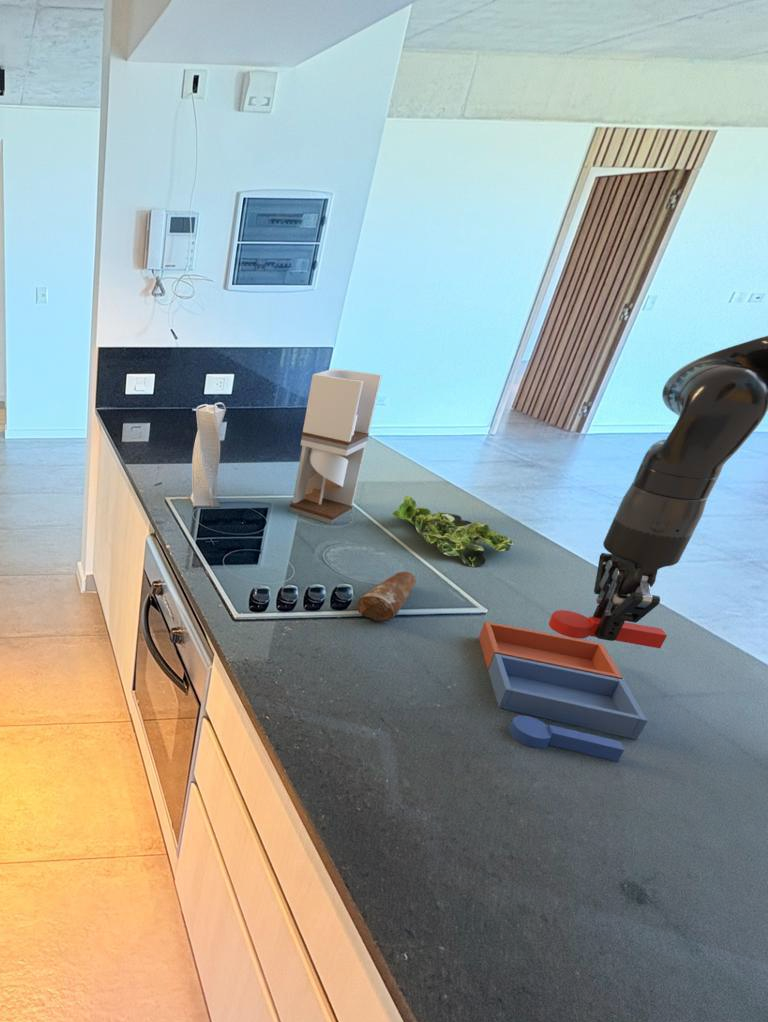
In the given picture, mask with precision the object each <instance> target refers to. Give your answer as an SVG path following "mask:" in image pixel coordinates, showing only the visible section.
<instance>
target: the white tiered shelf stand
mask: <svg viewBox="0 0 768 1022" xmlns="http://www.w3.org/2000/svg"><path fill="white" fill-rule="evenodd" d="M382 377H383V375H382V374H379V373H378V374H377V373H373V372H364V371H357V370H349V369H343V368H334V367H333V368H331V369H327V370H323V371H320V372H317V373H314V374H312V376H311V382H310V388H309V394H308V400H307V405H306V413H305V417H304V422H303V428H302V434H301V439H300V446H301V452H300V458H299V463H298V469H297V474H296V480H295V485H294V492H293V496H292V502H291V503H289V509H288V512H291V513H293V514H296V515H301V516H304V517H307V518H310V519H313V520H317V521H319V522H323V523H325V524H329V525H333V524H335V523H336V522H338V521H339V520H341V519H343V518H344V517H346V516H348V515H350V514H351V513H352V511H353V505H354V502H355V497H356V492H357V487H358V484H359V478H360V475H361V470H362V465H363V462H364V461H363V460H364V457H365V452H366V449H367V443H368V439H369V436H370V430H371V427H372V426H371V425H372V421H373V417H374V413H375V409H376V408H375V407H376V403H377V400H378V394H379V390H380V385H381V381H382Z"/></svg>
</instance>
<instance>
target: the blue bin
mask: <svg viewBox="0 0 768 1022" xmlns="http://www.w3.org/2000/svg"><path fill="white" fill-rule="evenodd" d="M487 672H488V675H489V679H490V682H491V686H492V689H493V693H494V696H495V700H496V704H497V703H498V704H497V707H498V708H499V709H502V708H503V709H504V710H507V711H511V712H516V713H520V714H525V715H527V716H532V717H537V718H542V719H546V720H550V721H554V722H559V723H564V724H568V725H572V726H577V727H581V728H585V729H589V730H593V731H594V730H595V731H598V732H601V733H605V734H606V733H607V734H610V735H614V736H619V737H622V738H623V737H624V738H628V739H632V740H638V739H639V738H640V736H641V734H642V732H643V730H644V728H645V726H646V725H647V723H648V721H649V720H648V719H647V717H646V715H645V713H644V712H643V710H642V708H641V706H640V705H639V703H638V701H637V699H636V698H635V696H634V694H633V693H632V692H631V689H630V688H629V686H628V684H627V683H626V681H625V679H624V678H623V679H617V678H613V677H608V676H603V675H598V674H593V673H588V672H583V671H578V670H574V669H569V668H564V667H559V666H554V665H549V664H544V663H539V662H534V661H530V660H525V659H520V658H515V657H510V656H505V655H500V654H496V653H495V654H494V657H493V659H492V662H491V664H490V667H489V669H487Z"/></svg>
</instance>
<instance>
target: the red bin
mask: <svg viewBox="0 0 768 1022" xmlns="http://www.w3.org/2000/svg"><path fill="white" fill-rule="evenodd" d="M478 640H479V644H480V647H481V651H482V654H484V655H483V658H484V661H485V666H486V669H487V670H489V667H490V664H491V662H492V659H493V657H494V654H495V653H496V654H500V655H505V656H510V657H515V658H520V659H525V660H530V661H534V662H539V663H544V664H549V665H554V666H559V667H564V668H569V669H574V670H578V671H583V672H588V673H593V674H598V675H603V676H608V677H613V678H617V679H623V680H624V677H623V676H622V673H621V672H620V671H619V669H618V667H617V665H616V664H615V662H614V660H613V658H612V657H611V655H610V654H609V653H610V652H609V651H608V650H607V648H606V647H605V645H604V643H602V642H598V641H597V642H596V641H591V640H586V639H578V638H572V637H568V636H564V635H561V634H555V633H549V632H543V631H539V630H534V629H527V628H523V627H517V626H513V625H512V626H511V625H508V624H507V625H506V624H501V623H496V622H491V621H484V623H483V625H482V628H481V630H480V632H479V636H478Z"/></svg>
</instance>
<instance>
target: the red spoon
mask: <svg viewBox="0 0 768 1022" xmlns="http://www.w3.org/2000/svg"><path fill="white" fill-rule="evenodd" d="M600 620H601V618H596V617H593V616H592V615H591V616H589V617H587V616H585V615H583V614H581V613H579V612H575V611H572V610H571V611H570V610H566V609H558V610H554V611H552V613H551V616H550V619H549V621H548V626H549V628H550V629H551V630H553V631H554V632H556V633H558V634H559V635H561V636H565V637H571V638H576V639H581V640H584V639H587V638H588V637H593V638H597V637H596V635H595V632H596V630H597V628H598V626H599V623H600ZM667 637H668V635H667V634H666V632H665V631H664V630H663V628H660V627H655V626H649V625H644V624H639V623H637V624H636V623H633V622H627V621H625V622H624V624H623V626H622V628H621V630H620V632H619V634H618V636H617V638H616V640H614V641H615V642H621V643H627V644H633V645H637V646H643V647H649V648H654V649H655V648H656V649H661V648H662V646H663V644H664V643H665V641H666V638H667Z"/></svg>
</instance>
